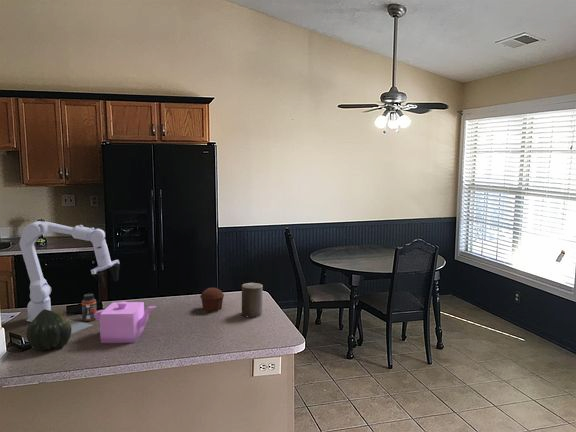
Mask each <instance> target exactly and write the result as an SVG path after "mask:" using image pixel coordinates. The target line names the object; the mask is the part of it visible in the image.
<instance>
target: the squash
mask: <svg viewBox="0 0 576 432" xmlns="http://www.w3.org/2000/svg"><path fill="white" fill-rule="evenodd" d="M69 320H70V319H69ZM69 320H68V318H67V317H66V316H64V315H62V314H60V313H57V312H56V311H52V310H51V311H50V310H46V309H43V310H42V311H41V312H40V313H39V314H38V315H37V316H36V318H35V319H34V320H33V321H32V322H30V323H29V325H28V326H27V328H26V339H27V342H28V343H29V346H31V347H33V348H34V349H35V350H36V351H41V352H42V351H46V350H49V349H51V348H52V347H53V348H54V347H55V348H62V347H65V346H66V345H67V344H68V342H69V340H70V338H71V335H72V334H71V324H70V322H69Z"/></svg>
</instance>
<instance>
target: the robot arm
mask: <svg viewBox="0 0 576 432" xmlns="http://www.w3.org/2000/svg"><path fill="white" fill-rule="evenodd" d="M52 232H53V233H59V234H65V235H71V236H72V238H73V239H75V240H76V239H77V240H83V241H86V242H89V241H90V242H91V243H92V247H93V252H94V254H95V259H96V262H97V266H96V267H93V269H90V272H91V275H92V277H94V278H95V280H96V282H98V284H99V286H100V287H101V288H106V281H105V272H104V270H107V269H109V271H110V273H111V276H112V279H113V282H118V281H119V274H120V268H121V264H120V260H119V259H115V260H111V256H110V255H111V254H110V252H109V248H108V244H107V240H106V231H104V230H103V229H101V228H95V227H86V226H84V225H83V224H79V225H75V226H73V227H72V226H68V225H64V224H58V223H54V222H50V221H42V220H36V221H34V222H32V223H28V224H26V226H24V228H23V229H22V233H21V237H20V240H19V247H20V250H21V253H22V257H23V261H24V263H25V266H26V267H25V268H26V270H27V275H28V278H29V281H30V283H29V291H30V293H29V298H30V299H29V300H30V301H29V302H28V304H27V307H26V308H27V318H26V321H27V322H30V323H31V322H32V321H33V320H34V319H35V318H36V316H37V315H38V314H39V313H40V312H41V311H42V310H43V309H46V310H50V311H52V306H51V297H50V295H51V292H52V287H51V286H50V285H49V284H48V282H47V281H48V280H47V279H45V278H44V274H43V272H42V271H43V270H42V268H41V264H40V260H39V258H38V255H37V249H36V246H35V243H36V242H37V240H38V239H39V238H40V237H41V236H42V235H45V234H47V233H52ZM102 271H103V272H102Z"/></svg>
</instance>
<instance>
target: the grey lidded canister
mask: <svg viewBox="0 0 576 432" xmlns="http://www.w3.org/2000/svg"><path fill="white" fill-rule="evenodd" d="M263 287H264V286H263V284H261V283H258V282H257V283H256V282H248V283H243V284H241V316H243V315H244V316H243V317H245V316H248V317H247V318H257V317H256V316H259V317H261V316H262V315H263V291H264V289H263ZM261 314H262V315H261ZM260 315H261V316H260Z"/></svg>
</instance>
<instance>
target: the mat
mask: <svg viewBox="0 0 576 432" xmlns="http://www.w3.org/2000/svg"><path fill="white" fill-rule="evenodd" d="M67 319H68V318H67ZM68 320H69V322H70V324H71V335H73V334H77V333H79V332H81V331H84V330H86V329H89V328H91V327H94V324H91V323H88V322H84V321H83V322H81V321H79V320H78V321H77V320H73V319H68Z"/></svg>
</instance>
